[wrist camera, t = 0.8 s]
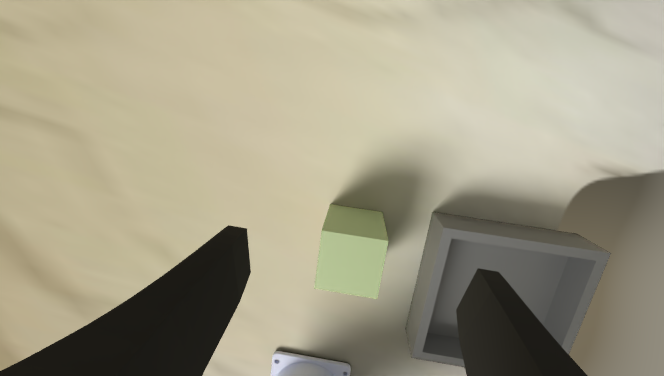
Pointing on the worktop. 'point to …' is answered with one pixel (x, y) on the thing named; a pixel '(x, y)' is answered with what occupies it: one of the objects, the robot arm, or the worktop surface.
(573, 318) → the bin
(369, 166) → the worktop surface
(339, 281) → the light green block
